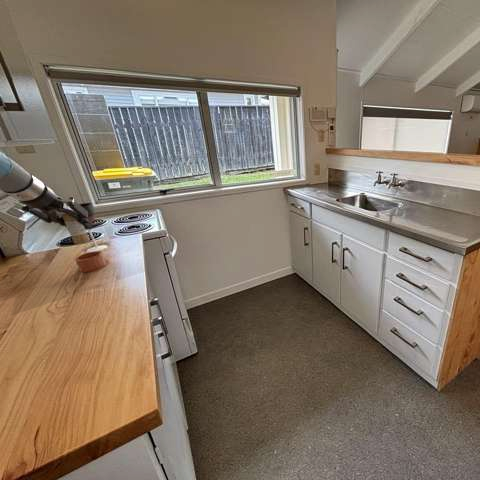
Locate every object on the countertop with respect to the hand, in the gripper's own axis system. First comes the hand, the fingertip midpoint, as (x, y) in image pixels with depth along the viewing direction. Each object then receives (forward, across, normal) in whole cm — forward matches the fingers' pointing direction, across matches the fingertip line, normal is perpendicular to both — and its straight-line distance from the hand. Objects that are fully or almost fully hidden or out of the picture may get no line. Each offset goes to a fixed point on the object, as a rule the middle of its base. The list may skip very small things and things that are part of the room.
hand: (82, 227), depth 96 cm
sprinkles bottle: (+1, 0, -6) cm, 6 cm away
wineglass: (+24, -8, +2) cm, 25 cm away
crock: (+8, 0, -13) cm, 16 cm away
